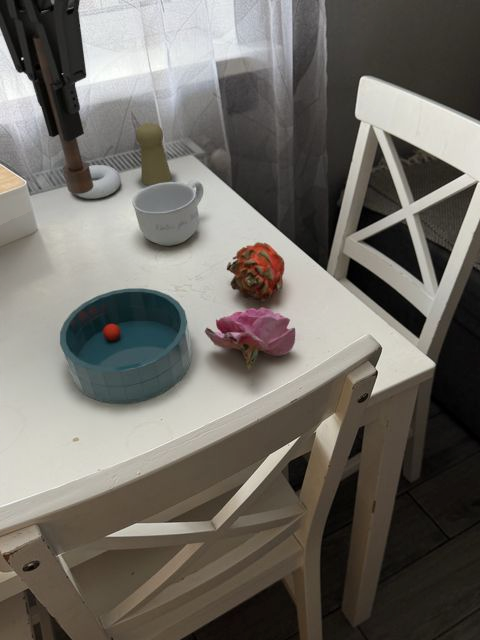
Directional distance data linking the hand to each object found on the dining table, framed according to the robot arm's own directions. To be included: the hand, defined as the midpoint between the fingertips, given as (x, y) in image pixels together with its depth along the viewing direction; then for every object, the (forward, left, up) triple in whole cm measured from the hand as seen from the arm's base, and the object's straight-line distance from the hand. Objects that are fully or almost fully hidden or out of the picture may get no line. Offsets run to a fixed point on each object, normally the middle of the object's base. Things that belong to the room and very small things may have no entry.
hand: (66, 134), depth 76 cm
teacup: (-2, +20, -26) cm, 33 cm away
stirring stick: (0, 0, -7) cm, 7 cm away
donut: (-26, +25, -26) cm, 44 cm away
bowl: (+12, -9, -26) cm, 30 cm away
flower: (+26, 0, -26) cm, 37 cm away
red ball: (+8, -8, -24) cm, 27 cm away
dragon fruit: (+19, +13, -26) cm, 35 cm away
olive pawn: (-18, +34, -26) cm, 46 cm away
